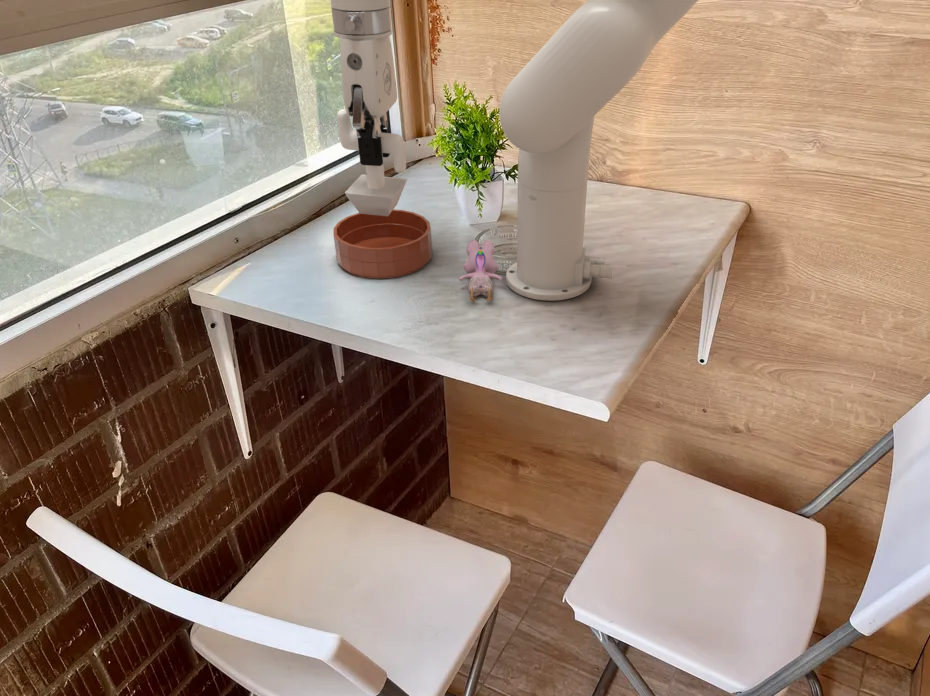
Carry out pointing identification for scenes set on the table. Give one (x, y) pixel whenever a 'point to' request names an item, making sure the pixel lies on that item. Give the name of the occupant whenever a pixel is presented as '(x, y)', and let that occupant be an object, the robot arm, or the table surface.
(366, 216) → the bowl
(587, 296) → the table surface
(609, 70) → the robot arm
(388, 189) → the figurine
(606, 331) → the table surface
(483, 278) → the rabbit figure
